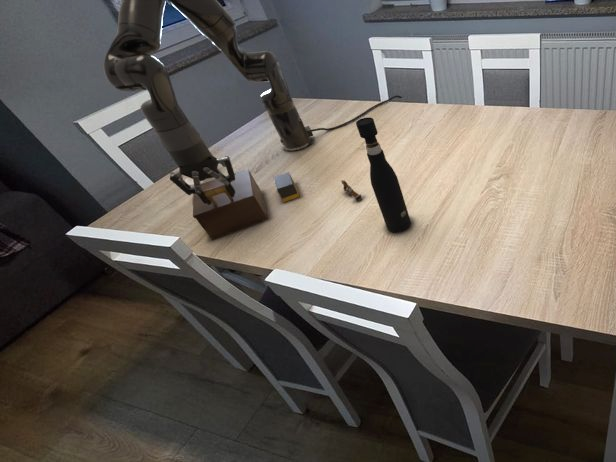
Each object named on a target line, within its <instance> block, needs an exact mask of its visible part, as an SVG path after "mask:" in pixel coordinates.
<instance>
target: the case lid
mask: <svg viewBox="0 0 616 462" xmlns="http://www.w3.org/2000/svg"><path fill="white" fill-rule="evenodd" d="M249 171H250V169H249V168H246V169H243V170H241V171H237V172H234V174H235V180H234V181H232V182H231V184H232V186H233V187H234V189H235V194H234V197H231V196H230V194H229V193H228V191H227V190H226V188H225V187H224V184H223V183H222V182H220V181H219V180H216V179H215V180H212V181H209V182H206V183H203V184H201V189H202V190H204V194H205V196H206V197H207V198H209V200H210V201H211V204H210V205H208V204H207V203H206V204H205V203H203V202H202V200H201V199H200V197H199V196H198V195H197V194H194V195H193V194H192V195H193V197H192V217H193V218H194V219H196V218H197V217H200V216H203V215H206V214H209V213H212V212H215V211H217V210H220V209H223V208H226V207H229V206H232V205H235V204H238V203H241V202H244V201H247V200H249V199H252V198H255V197H254V192H253V187H252V182H251V177H250V173H251V172H249ZM225 176H226V177H227V176H228V175H225Z"/></svg>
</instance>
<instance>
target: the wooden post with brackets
mask: <svg viewBox="0 0 616 462" xmlns="http://www.w3.org/2000/svg"><path fill="white" fill-rule="evenodd" d="M340 182H341V184H342V186H343V191H344V192H346V194H348V196H353V197H354V198H355V202H358V201H360V200H361V199H362V198H363V197H362V194H361V193H360V194H359V193H358V192H356V191H354V188H352V187H351V186H350V185H349V184H348V183H347V181H346V180H344V179H341V181H340Z"/></svg>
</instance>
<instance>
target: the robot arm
mask: <svg viewBox="0 0 616 462" xmlns="http://www.w3.org/2000/svg"><path fill="white" fill-rule="evenodd" d="M167 1H168V3H170V4H171V5H172V6H173V7H174V8H175V9H176V10H178V11H179V12H180V13H181V14H182V15H183V16H184V17H185V18H186V19H187V20H188V21H189V22H190V23H191V24H192V25H193V26H194V27H195V29H197V30H198V31H199V32H200V33H201V34H202V35H203V36H205V37H206V38H207V39H208V40H209V41H210V42H211V43H212V44H213V45H214V46H215V47H216V48H217V49H218V50H219V51H220V52H221V53H222V54H223V55H224V56H225V57H226V58H227V59H228V61H229V62H230V63H231V64H232V65H233V66H234V67H235V69H236V70H237V72H239V73H240V74H241V75H242V76H243V78H244V79H245V80H247V81H248V82H250V83H253V84H260V83H261V84H262V83H267V82H268V83H269V85H270V88H269V89H268V90H266V91H264V92H262V93H261V94H260V101H261V102H262V104H263V106H264V108H265V111H266V112H267V114H268V117H269V119H270V120H271V123H272V124H273V126H274V129H275V130H276V133H277V135H278V136H279V139H280V140H279V141H280V143H281V144H282V146H283V147H284V149H285V150H286V151H289V152H294V151H300V150H302V149H305V148H307V147H308V146H310V145H312V144H313V142H312V140H311V137H313V136H314V133H313V132H318V131H333V130H336V129H339V128H342V127H344V126H346V125H348V124H350V123H352V122H355V121H357V120H358V119H360V118H361V117H362V116H364V115H365V114H367V113H368V112H370V111H372V110H373V109H374V108H377V107H378V106H381V105H383V104H385V103H387V102H390V101H392V100H393V99H396V98H399V99H402V98H403V97H402V96H401V95H393V96H391V97H390V98H388V99H385V100H383V101H381V102H379V103H377V104H375V105H373V106H371V107H370V108H367V109H366V110H365V111H363V112H362V113H360V114H358V115H357V116H355V117H353V118H352V119H350V120H349V121H346V122H344V123H341V124H338V125H337V126H334V127H328V128H326V127H319V128H312V129H311V127H310V125H306V126H305V124H304V122H303V120H302V118H301V116H300V113H299V111H298V109H297V107H296V105H295V103H294V100H293V98H292V95H291V93H290V89H289V86H288V84H287V81H286V78H285V76H284V73H283V71H282V68H281V65H280V63H279V61H278V58H277V57H276V56H275V54H274V53H273V52H271V51H270V50H262V51H253V52H248V51H246V50H244V49H243V48H242V47H241V46H240V44H239V43H238V32H237V25H236V22H235V20H234V18H233V17H232V15H231V14H230V13H229V12H228V11H227V9H225V8H224V6H223V5H222V4H221V3H220V2H219V1H218V0H121V3H120V6H119V9H118V16H117V17H118V18H117V29H116V35H115V36H114V37H113V39H112V41H111V42H110V45H109V47H108V49H107V52H106V53H105V56H104V59H103V65H102V67H103V68H102V69H103V73H104V76H105V78H106V80H107V82H108V83H109V84H110V85H111V86H113V87H114V88H115V89H116V90H119V91H121V92H128V93H129V92H130V93H131V92H141V91H147V92H148V94H149V97H150V98H149V99H147V100H145V101H144V102H143V103H141V105H140V112H141V114H142V115H143V117H144V118H145V119H146V121H147V122H148V124H149V125H150V127H151V128H152V129H153V130H154V132H155V134H156V136H157V138H158V140H159V141H160V143H161V144H162V145H163V147H164V149H165V150H166V151H167V152H168V154H169V155H170V157H171V159H172V160H173V161H174V162H175V164H176V165H177V166H178V168H179V169H178V170H177V171H176V172H170V174H169V180H170V181H171V182H172V183H173V184H175V186H177V187H178V188H179V189H181V191H183V192H184V193H185V194H186V195H188V196H191V195H193V194H197V195H198V196H199V197H200V199H201V200H202V202H203V203H205V204H206V203H207V204H208V205H210V204H211V201H210V200H209V198H207V197H206V196H205V194H204V190H202V189H201V183H200V181H203V180H205V179H208V178H213V177H214V178H215V179H216V180H219V181H220V182H222V183H223V184H224V187H225V188H226V190H227V191H228V193H229V194H230V196H231V197H234V194H235V189H234V187H233V186H232V184H231V182H232V181H234V180H235V174H234V173H235V171H234V168H233V164H232V160H231V158H230V157H229V156H227V155H226V156H224V157H222V158H217V157H216V156H214V155H213V154H212V152H211V151H210V150H209V147H208V145H206V143H205V141H204V140H203V138H202V137H201V135H200V134H201V133H199V132H198V131H197V129H196V127H195V126H194V125H193V124H192V122H190V120H189V119H188V117H187V116H186V113H185V112H184V111H183V109H182V107H181V106H180V105H179V103H178V100H177V97H176V94H175V93H176V92H175V91H174V87H173V83H172V80H171V78H170V74H169V72H168V70H167V68H166V67H165V65H164V64H163V63H162V62H161V61H160V60H159V59H157V58H156V57H155V56H153V54H156V53H158V51H159V50H160V48H161V41H162V30H163V28H162V26H163V17H164V11H165V6H166V3H167ZM219 164H220V165H221V166H222V167H223V168H226V171H227V175H225V174H224V173H222V171H220V170H219V169H218V167H219ZM226 176H227V177H226ZM184 177H186V178H187V177H189V178H192V179H193V182H194V187H191V186H190V185H188V184H187V183H186V182H185V179H184Z"/></svg>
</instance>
